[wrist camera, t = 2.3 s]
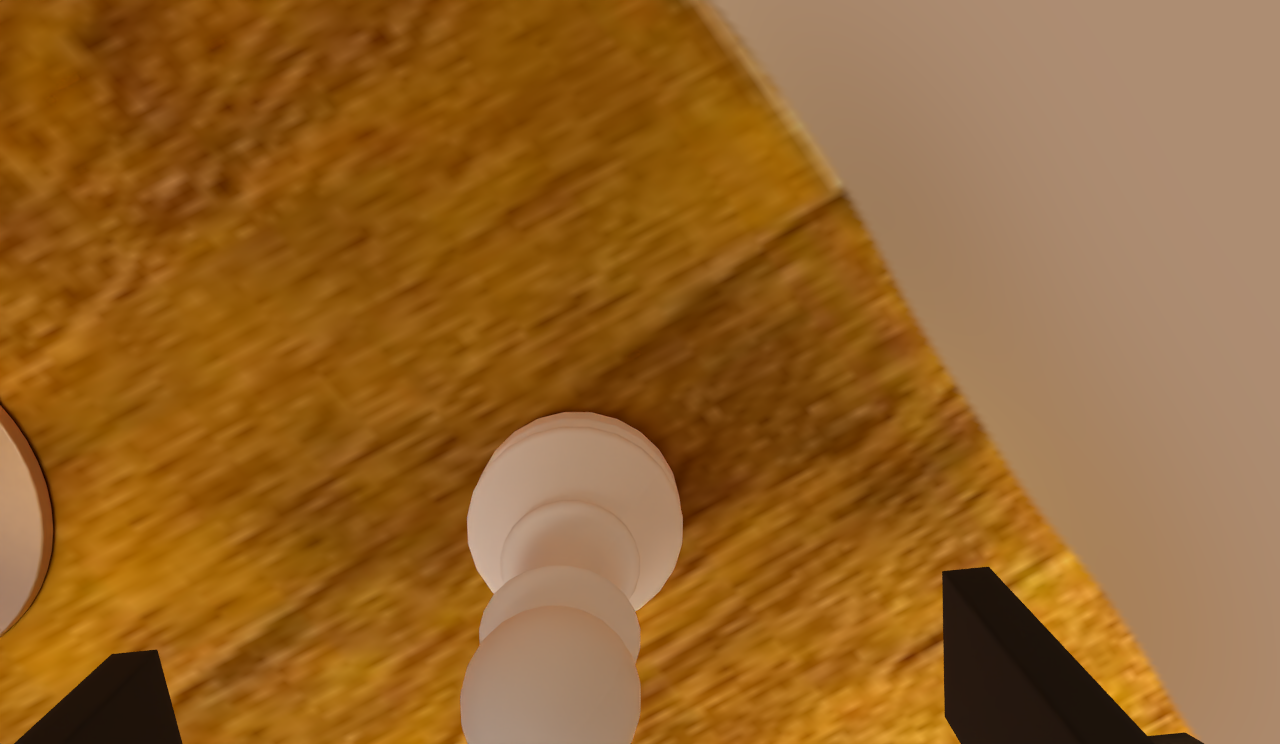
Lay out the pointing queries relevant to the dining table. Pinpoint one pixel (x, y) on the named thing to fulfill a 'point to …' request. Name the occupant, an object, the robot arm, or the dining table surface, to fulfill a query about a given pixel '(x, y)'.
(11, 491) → the cork coaster
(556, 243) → the dining table surface
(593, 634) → the chess pawn
